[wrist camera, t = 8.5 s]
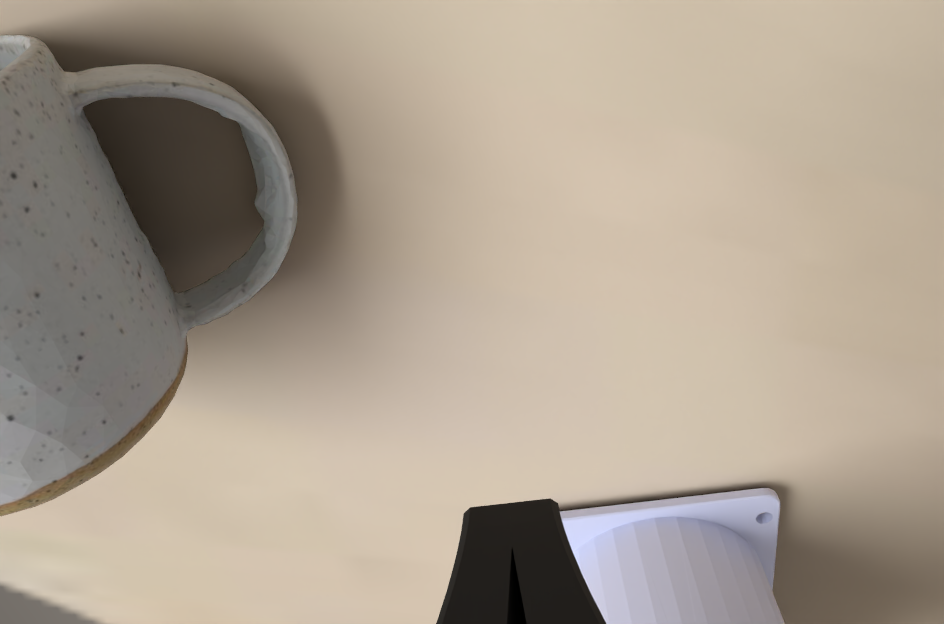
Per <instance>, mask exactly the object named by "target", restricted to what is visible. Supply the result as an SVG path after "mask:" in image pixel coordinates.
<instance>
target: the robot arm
mask: <svg viewBox="0 0 944 624" xmlns="http://www.w3.org/2000/svg"><path fill="white" fill-rule="evenodd" d="M764 512H765V513H764ZM760 513H762V514H760ZM779 515H780V500H779V498H778V495H777V493H776V492H775V491H774V490H772V489H769V488H757V489H749V490H740V491H732V492H723V493H715V494H706V495H698V496H689V497H680V498H672V499H663V500H655V501H646V502H638V503H629V504H620V505H612V506H603V507H595V508H586V509H578V510H569V511H561V512H560V511H559V506H558V503H556V502H555V501H553V500H552V499H542V500H533V501H524V502H515V503H507V504H498V505H489V506H480V507H471V508H469V509H468V510H467V511H466V512H465V513H464V516H463V524H462V531H461V536H460V541H459V546H458V551H457V555H456V559H455V563H454V567H453V571H452V575H451V578H450V582H449V585H448V589H447V592H446V596H445V599H444V602H443V605H442V608H441V611H440V614H439V617H438V620H437V623H436V624H785V623H784V620H783V618H782V615H781V612H780V610H779V607H778V605H777V602H776V600H775V597H774V595H773V581H774V570H775V559H776V548H777V537H778V526H779Z"/></svg>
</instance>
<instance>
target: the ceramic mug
mask: <svg viewBox="0 0 944 624" xmlns="http://www.w3.org/2000/svg"><path fill="white" fill-rule="evenodd" d="M112 97H115V98H130V97H172V98H177V99H183V100H188V101H192V102H194V103H196V104H198V105H201V106H203V107H206V108H209V109H211V110H214V111H217V112H219V113H220V115H221V116H223V117H226V118H229V119H232V120H235V121H237V122H238V123H239V125H240V128H241V132H242V135H243V138H244V140H245V143H246V146H247V149H248V152H249V154H250V158H251V161H252V165H253V169H254V173H255V178H256V184H257V189H258V191H257V194H256V198H255V202H254V203H255V206H256V208H257V210H258V213H259V214H260V216H261V217H262V218H263V220H264V221H265V222H264V226H263V229H262V230H261V232H260V233H259V235H258V236H257V238H256V239H255V241H254V243H253V244H252V246H251V248H250V249H249V251H248V252H247V253H246V254H244V255H243V256H242V257H241V258H240V259H239V260H237V261H235V262H233V263H232V264H231V265H230V267H229V268H228V269H227V270H225V271H223V272H222V273H220V274H218V275H216V276H214V277H213V278H211V279H210V280H208V281H207V282H205V283H203V284H201V285H198V286H196V287H194V288H192V289H190V290H187V291H185V292H181V293H176V292H173V290H172V288H171V286H170V284H169V282H168V280H167V277H166V275H165V272H164V268H163V267H162V266H161V265H160V263H159V261H158V258H157V257H156V256H155V254H154V253H153V251H152V248H151V246H150V244H149V241H148V239H147V237H146V236H145V234H144V233H143V232H142V231H141V230H140V228H139V226H138V224H137V222H136V220H135V218H134V216H133V214H132V212H131V210H130V207H129V205H128V203H127V201H126V199H125V196H124V194H123V191H122V190H121V188H120V186H119V184H118V183H117V181H116V177H115V174H114V172H113V170H112V168H111V166H110V163H109V161H108V159H107V158H106V156H105V155H104V153H103V151H102V149H101V147H100V145H99V143H98V140H97V137H96V133H95V132H94V130H93V129H92V127H91V125H90V123H89V122H88V120H87V119H86V116H85V114H84V111H83V107H84V106H85V105H88V104H90V103H92V102H95V101H97V100H102V99H107V98H112ZM297 202H298V198H297V194H296V188H295V180H294V174H293V171H292V168H291V165H290V162H289V158H288V155H287V152H286V150H285V148H284V146H283V144H282V142H281V140H280V138H279V137H278V135H277V133H276V131H275V129H274V127H273V126H272V125H271V124H270V122H269V121H268V120H267V119H266V118H265V117H264V116H263V115H262V114H261V113H260V112H259V111H258V110H257V109H256V108H255V107H254V106H253V105H252V104H251V103H250V102H249V101H248V100H247V99H246V98H245V97H244V96H243V95H241V94H240V93H239V92H238V91H237V90H235V89H234V88H233V87H231V86H229V85H227V84H225V83H223V82H221V81H219V80H217V79H215V78H212V77H210V76H207V75H204V74H202V73H199V72H197V71H194V70H189V69H185V68H181V67H174V66H168V65H161V64H129V65H118V66H107V67H95V68H92V69H88V70H84V71H80V72H64V70H63V69H62V68H61V67H60V66H59V64H58V63H57V61H56V60H55V58H54V56H53V54H52V53H51V51H50V50H49V49H48V47H47V46H46V44H45V43H43V42H42V41H41V40H39V39H38V38H34V37H30V36H27V35H16V36H12V35H3V36H0V516H4V515H7V514H11V513H14V512H18V511H21V510H25V509H28V508H32V507H35V506H38V505H40V504H43V503H45V502H48V501H50V500H53V499H55V498H56V497H58V496H60V495H62V494H64V493H66V492H68V491H69V490H71V489H73V488H75V487H77V486H79V485H81V484H83V483H84V482H86V481H88V480H89V479H91V478H93V477H94V476H96V475H98V474H99V473H101V472H102V471H104V470H105V469H106V468H108V467H109V466H110V465H112V464H113V463H114V462H116V461H117V460H119V459H120V458H121V457H123V456H124V455H125V454H126V453H127V452H128V451H129V450H130V449H131V448H132V447H133V446H134V445H135V444H136V443H137V442H139V441H140V440H141V439H142V438H143V437H144V436H145V434H146V433H147V432H148V431H149V430H150V429H151V428H152V427H153V426H154V425H155V423H156V422H157V421H158V420H159V419H160V418H161V416H162V415H163V413H164V412H165V410H166V408H167V407H168V405H169V404H170V402H171V401H172V399H173V397H174V396H175V393H176V391H177V389H178V387H179V384H180V382H181V380H182V377H183V375H184V371H185V367H186V361H187V354H188V345H187V336H186V334H187V331H188V330H190V329H191V328H193V327H194V326H197V325H203V324H207V323H209V322H211V321H213V320H214V319H217V318H219V317H222V316H224V315H227V314H228V313H229V312H231V311H232V310H233V309H235V308H237V307H238V306H240V305H242V304H244V303H245V302H247V301H248V300H250V299H251V298H252V297H253V296H254V295H255V294H256V293H257V292H258V291H259V290H260V289H261V288H262V287H263V286H265V285H266V284H267V283H268V282H269V281H270V280H271V279H272V277H273V276H274V275H275V274H276V273H277V271H278V270H279V268H280V266H281V264H282V262H283V260H284V258H285V256H286V254H287V252H288V250H289V247H290V244H291V241H292V238H293V234H294V231H295V228H296V223H297V216H298V211H297Z"/></svg>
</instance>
